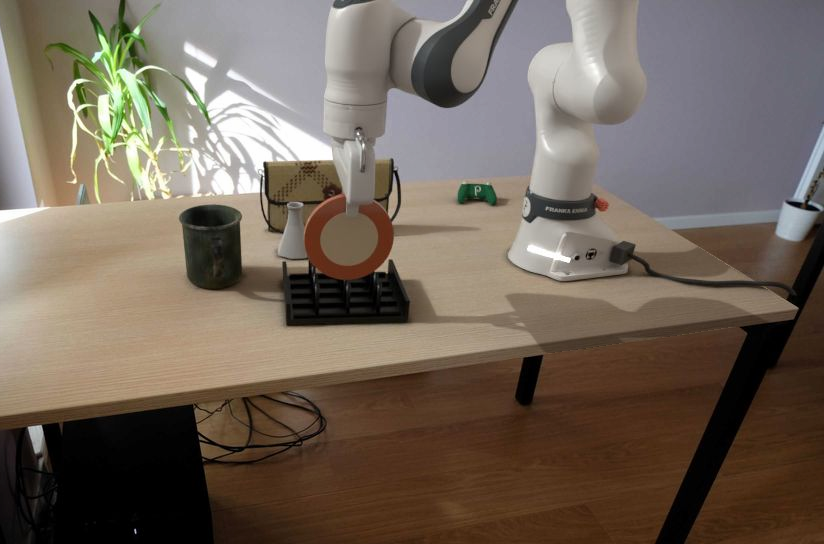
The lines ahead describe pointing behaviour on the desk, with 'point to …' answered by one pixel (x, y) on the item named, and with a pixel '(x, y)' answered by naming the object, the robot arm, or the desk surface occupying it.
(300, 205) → the flask
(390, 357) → the desk surface
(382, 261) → the plate
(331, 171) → the clutch purse
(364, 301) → the rack
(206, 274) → the mug
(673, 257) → the desk surface
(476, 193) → the gaming controller
